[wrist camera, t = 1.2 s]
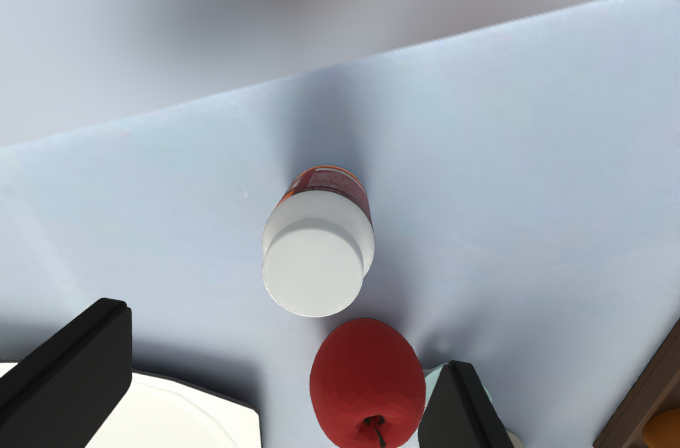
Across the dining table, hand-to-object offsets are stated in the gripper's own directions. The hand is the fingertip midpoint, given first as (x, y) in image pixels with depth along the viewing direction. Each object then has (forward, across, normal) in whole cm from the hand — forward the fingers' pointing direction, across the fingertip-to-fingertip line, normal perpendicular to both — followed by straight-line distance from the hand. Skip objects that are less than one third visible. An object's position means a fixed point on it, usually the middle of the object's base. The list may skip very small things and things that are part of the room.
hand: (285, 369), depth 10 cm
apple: (+17, -6, +12) cm, 22 cm away
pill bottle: (+17, 0, 0) cm, 17 cm away
